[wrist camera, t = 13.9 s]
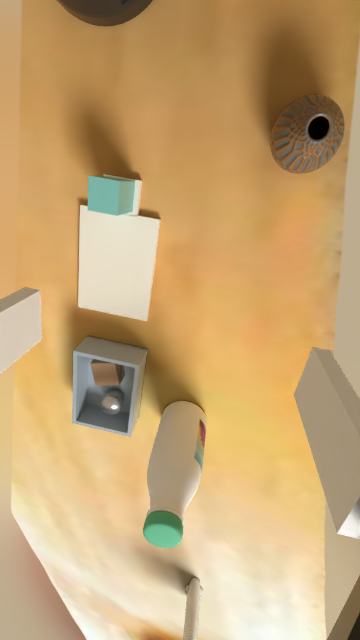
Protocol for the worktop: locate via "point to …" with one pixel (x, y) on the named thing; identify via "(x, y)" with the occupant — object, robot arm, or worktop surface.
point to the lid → (116, 249)
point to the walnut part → (107, 372)
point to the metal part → (112, 401)
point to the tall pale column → (192, 609)
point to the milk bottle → (174, 471)
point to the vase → (307, 134)
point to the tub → (91, 395)
